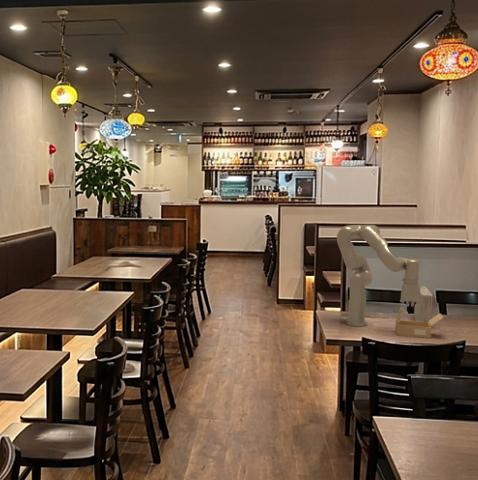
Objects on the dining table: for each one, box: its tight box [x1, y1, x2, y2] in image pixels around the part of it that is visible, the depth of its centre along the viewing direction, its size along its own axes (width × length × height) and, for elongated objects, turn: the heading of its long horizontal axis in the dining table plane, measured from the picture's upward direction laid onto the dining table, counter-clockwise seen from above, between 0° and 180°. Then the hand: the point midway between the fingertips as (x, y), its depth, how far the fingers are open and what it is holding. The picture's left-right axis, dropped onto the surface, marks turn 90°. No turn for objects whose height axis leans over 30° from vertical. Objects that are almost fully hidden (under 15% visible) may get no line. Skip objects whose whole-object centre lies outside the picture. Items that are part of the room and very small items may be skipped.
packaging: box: [413, 285, 434, 327], centre depth 329 cm, size 30×6×20 cm, turn 168°
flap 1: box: [395, 305, 404, 323], centre depth 303 cm, size 1×11×8 cm, turn 169°
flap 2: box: [429, 313, 444, 327], centre depth 299 cm, size 1×11×8 cm
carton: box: [394, 319, 433, 339], centre depth 302 cm, size 18×12×6 cm
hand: (409, 312), depth 302 cm, fingers closed
